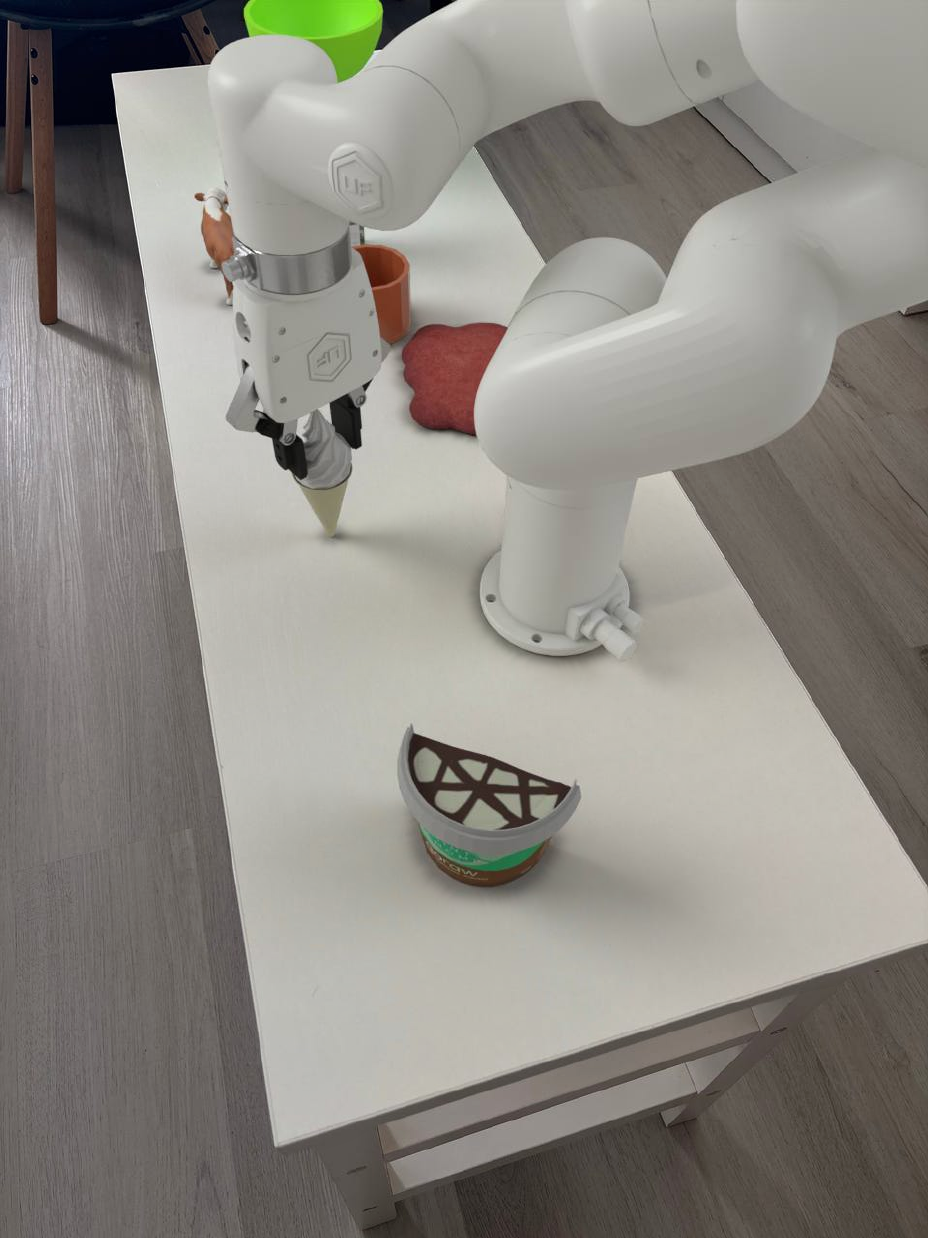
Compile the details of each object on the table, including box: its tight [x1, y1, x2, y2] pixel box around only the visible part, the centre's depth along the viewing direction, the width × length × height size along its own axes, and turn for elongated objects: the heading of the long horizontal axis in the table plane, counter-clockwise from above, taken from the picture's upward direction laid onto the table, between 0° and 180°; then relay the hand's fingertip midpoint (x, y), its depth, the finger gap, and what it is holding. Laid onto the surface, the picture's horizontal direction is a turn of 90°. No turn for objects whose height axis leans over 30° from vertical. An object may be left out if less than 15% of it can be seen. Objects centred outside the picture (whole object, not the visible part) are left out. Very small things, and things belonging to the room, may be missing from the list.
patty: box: [401, 322, 508, 435], centre depth 100 cm, size 18×14×2 cm
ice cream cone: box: [290, 408, 354, 538], centre depth 81 cm, size 5×5×15 cm
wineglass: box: [243, 0, 384, 83], centre depth 120 cm, size 16×16×18 cm
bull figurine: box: [194, 186, 234, 306], centre depth 108 cm, size 4×13×8 cm, turn 18°
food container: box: [396, 722, 582, 888], centre depth 65 cm, size 12×6×10 cm, turn 69°
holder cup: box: [351, 243, 412, 345], centre depth 103 cm, size 8×8×7 cm
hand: (320, 452), depth 79 cm, fingers closed on ice cream cone, 4 cm apart
